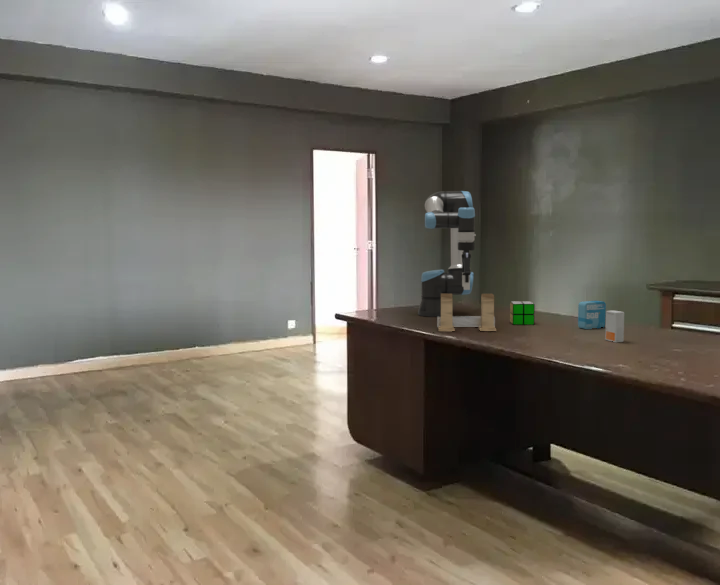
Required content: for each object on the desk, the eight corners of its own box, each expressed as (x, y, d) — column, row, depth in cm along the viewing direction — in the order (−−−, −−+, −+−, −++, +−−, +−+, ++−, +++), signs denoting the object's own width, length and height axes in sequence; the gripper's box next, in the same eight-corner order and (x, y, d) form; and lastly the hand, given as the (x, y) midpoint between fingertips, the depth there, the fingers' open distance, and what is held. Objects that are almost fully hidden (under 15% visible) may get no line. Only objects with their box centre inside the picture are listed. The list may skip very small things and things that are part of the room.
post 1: (438, 328, 305) (438, 293, 303) (454, 328, 304) (454, 293, 302) (438, 331, 297) (438, 295, 295) (454, 331, 296) (454, 295, 294)
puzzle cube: (531, 322, 323) (531, 301, 322) (534, 325, 313) (534, 303, 312) (509, 321, 324) (510, 301, 323) (512, 325, 314) (512, 303, 313)
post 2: (478, 328, 303) (479, 293, 301) (494, 328, 302) (494, 293, 300) (480, 331, 295) (480, 295, 293) (496, 331, 294) (496, 295, 292)
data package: (584, 329, 298) (585, 302, 297) (577, 328, 302) (578, 301, 301) (605, 327, 303) (606, 301, 302) (598, 326, 307) (598, 300, 306)
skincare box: (604, 340, 271) (605, 310, 270) (613, 339, 272) (614, 310, 271) (615, 342, 265) (616, 312, 264) (624, 341, 267) (624, 311, 265)
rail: (437, 326, 312) (437, 316, 312) (493, 327, 310) (494, 316, 309) (437, 328, 308) (437, 317, 308) (494, 328, 306) (494, 317, 305)
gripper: (476, 242, 293) (476, 291, 295) (472, 240, 317) (472, 285, 320) (459, 242, 293) (458, 291, 296) (456, 240, 318) (456, 285, 320)
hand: (465, 288), depth 308 cm, fingers open, 13 cm apart
